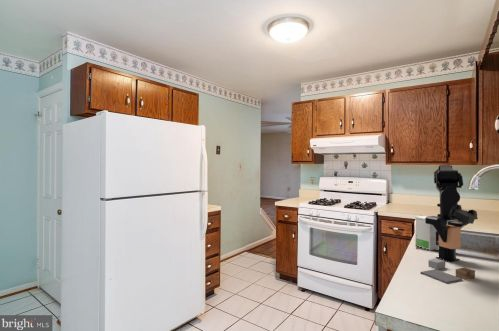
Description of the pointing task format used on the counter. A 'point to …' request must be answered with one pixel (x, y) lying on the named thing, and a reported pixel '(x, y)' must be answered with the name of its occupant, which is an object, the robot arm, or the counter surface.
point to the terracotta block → (452, 238)
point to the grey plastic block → (436, 263)
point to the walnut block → (465, 273)
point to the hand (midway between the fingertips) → (449, 241)
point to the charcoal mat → (441, 276)
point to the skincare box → (425, 234)
